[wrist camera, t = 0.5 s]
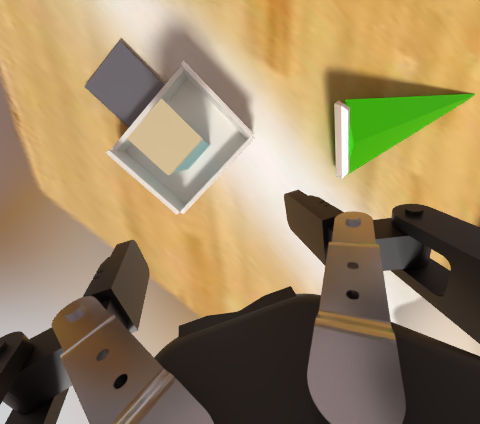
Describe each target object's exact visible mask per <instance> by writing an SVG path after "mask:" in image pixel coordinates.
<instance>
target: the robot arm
mask: <svg viewBox="0 0 480 424" xmlns="http://www.w3.org/2000/svg"><path fill="white" fill-rule="evenodd" d="M284 201H285V207H286V214H287V221H288V224H289V227H290V228H291V230H292V231H293V232H294V233H295V234H296V235H297V236H298V237H299V239H300V240H301V241H302V242H303V243H304V244H305V245H306V246H307V247H308V248H309V249H310V250H311V251H312V252H313V253H314V254H315V255H316V256H317V258H318V259H319V260H320V261H321V262H322V263H323V264H324V265H325V273H324V279H323V286H322V293H321V295H315V294H295V292H294V291H293V289H292V287H291V286H290V287H287V288H284V289H282V290H279V291H276V292H273V293H270V294H268V295H265V296H263V297H261V298H260V299H258V300H257V301H255V302H253V303H252V304H250V305H248V306H247V307H245V308H244V309H242V310H240V311H238V312H233V313H225V314H218V315H210V316H206V317H203V318H200V319H197V320H195V321H192V322H189V323H186V324H183V325H180V326H179V337H177V338H176V339H174V340H173V341H172V342H170V343H169V344H168V345H167V346H165V347H164V348H163V349H162V350H161V351H160V352H159V353H158V354H157V355H156V356H155V357H153V356H152V355H151V354H150V353H149V352H148V351H147V350H146V349H145V348H144V347H143V345H142V344H141V343H140V342H139V341H138V340H137V339H136V338H135V337H134V336H133V335H132V334H131V333H133V332H135V331H138V327H139V322H140V318H141V313H142V308H143V303H144V299H145V294H146V289H147V285H148V280H149V268H148V265H147V263H146V261H145V259H144V257H143V255H142V253H141V251H140V249H139V247H138V245H137V243H136V242H135V241H134V240H130V241H127V242H124V243H120V244H117V245H116V247H115V249H114V251H113V253H112V255H111V256H110V257H108V258H107V259H106V260H105V261H104V262H103V263H102V264H101V265H100V267H99V269H98V270H97V274H95V276H94V278H93V280H92V281H91V283H90V285H89V287H88V288H87V290H86V292H85V294H84V296H83V297H82V298H80V299H77V300H75V301H73V302H72V303H70V304H69V305H67V306H66V307H65V308H63V310H61V311H60V312H59V313H58V314H57V315H56V317H55V318H54V320H53V322H52V328H50V329H48V330H46V331H44V332H42V333H41V334H39V335H37V336H35V337H33V338H31V339H28V338H27V337H26V336H25V335H24V334H23V333H22V332H13V333H10V334H7V335H5V336H3V337H1V338H0V404H1V403H2V401H3V402H5V403H6V404H7V405H8V406H10V407H11V408H12V409H13V410H12V412H11V414H10V416H9V417H8V419H7V421H6V423H5V424H56V422H57V419H58V416H59V414H60V411H61V408H62V406H63V403H64V400H65V397H66V395H67V392H68V389H69V387H70V386H72V385H73V387H74V389H75V392H76V393H77V396H78V398H79V401H80V403H81V405H82V408H83V410H84V412H85V414H86V416H87V419H88V421H89V423H90V424H480V356H478V355H475V354H472V353H470V352H467V351H465V350H462V349H459V348H457V347H454V346H451V345H449V344H446V343H444V342H441V341H439V340H436V339H434V338H431V337H428V336H426V335H423V334H421V333H418V332H416V331H413V330H411V329H408V328H405V327H403V326H400V325H398V324H395V323H393V322H390V315H389V309H388V302H387V295H386V288H385V282H384V275H383V271H386V270H391V271H392V272H393V273H394V274H395V275H397V276H398V277H399V278H400V279H401V280H403V281H404V282H405V283H406V284H408V285H409V286H410V287H411V288H412V289H414V290H415V291H416V292H417V293H418V294H420V295H421V296H422V297H423V298H425V299H426V300H427V301H428V302H429V303H431V304H432V305H433V306H434V307H435V308H437V309H438V310H439V311H440V312H442V313H443V314H444V315H445V316H447V317H448V318H449V319H450V320H451V321H453V322H454V323H455V324H456V325H458V326H459V327H460V328H461V329H462V330H463V331H465V332H466V333H467V334H468V335H470V336H471V337H472V338H473V339H475V340H476V341H477V342H478V343H479V344H480V227H477V226H475V225H472V224H470V223H467V222H465V221H462V220H460V219H458V218H455V217H453V216H450V215H448V214H445V213H443V212H440V211H438V210H436V209H433V208H431V207H428V206H424V205H419V204H404V205H399V206H396V207H395V208H393V210H392V218H387V219H379V220H373V219H372V217H371V216H369V215H368V214H365V213H362V212H345V213H344V212H342V211H341V210H339V209H337V208H336V207H334V206H332V205H330V204H329V203H327V202H325V201H324V200H322V199H321V198H319V197H315V196H311V195H310V196H307V195H306V194H304V193H303V192H301V191H300V190H296V191H293V192H289V193H286V194H285V195H284ZM431 249H433V250H434V251H436V252H438V253H439V254H441V255H443V256H444V257H445V258H446V259H447V260H448V262H449V263H450V266H451V271H450V270H448V269H446V268H445V267H443V266H442V265H440V264H438V263H437V262H435V261H434V260H432V259H430V253H431Z"/></svg>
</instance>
